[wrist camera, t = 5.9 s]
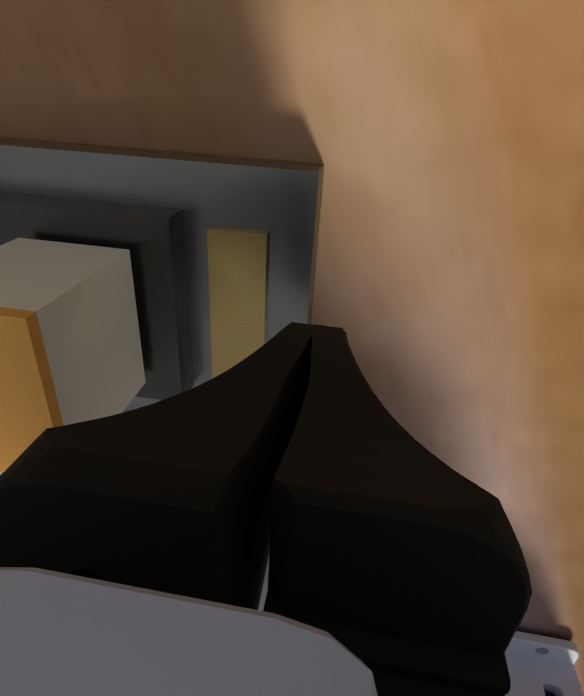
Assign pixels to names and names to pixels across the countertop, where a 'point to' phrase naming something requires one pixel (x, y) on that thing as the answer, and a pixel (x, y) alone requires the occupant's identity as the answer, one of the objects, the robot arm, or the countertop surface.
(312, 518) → the robot arm
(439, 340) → the countertop surface
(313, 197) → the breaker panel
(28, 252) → the block
